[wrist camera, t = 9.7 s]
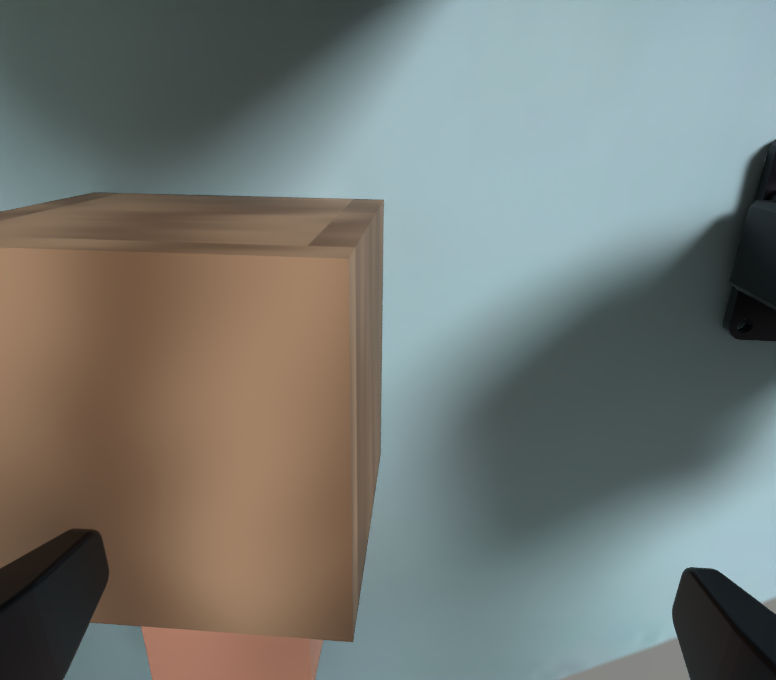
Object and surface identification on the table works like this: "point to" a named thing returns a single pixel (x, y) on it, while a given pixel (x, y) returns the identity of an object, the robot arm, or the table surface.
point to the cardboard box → (197, 402)
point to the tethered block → (229, 655)
